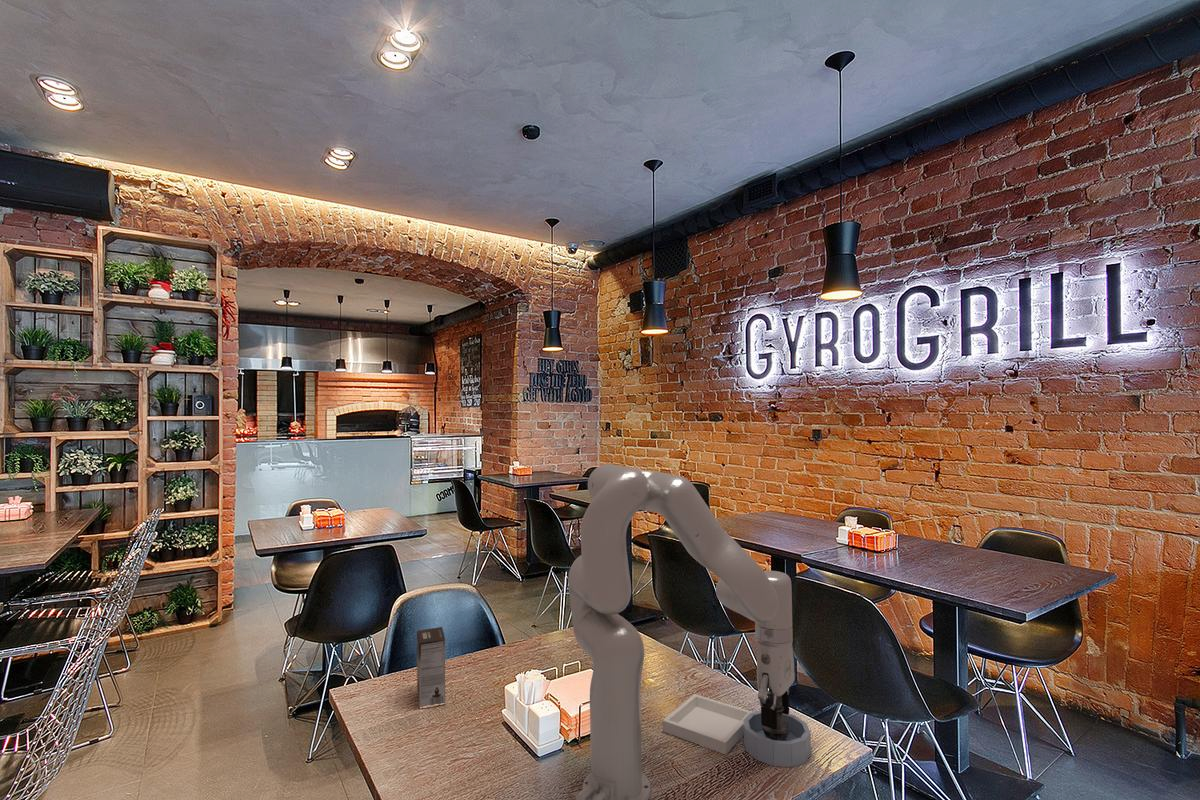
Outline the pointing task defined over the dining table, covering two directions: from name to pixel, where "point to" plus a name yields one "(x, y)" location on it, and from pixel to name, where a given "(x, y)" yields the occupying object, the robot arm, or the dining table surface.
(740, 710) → the parts tray
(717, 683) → the dining table surface
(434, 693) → the coffee box
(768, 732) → the dark brown turned figure
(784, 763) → the bowl
